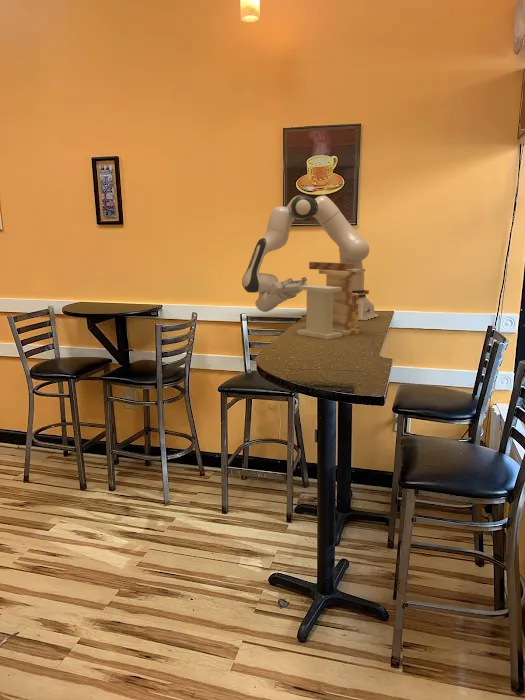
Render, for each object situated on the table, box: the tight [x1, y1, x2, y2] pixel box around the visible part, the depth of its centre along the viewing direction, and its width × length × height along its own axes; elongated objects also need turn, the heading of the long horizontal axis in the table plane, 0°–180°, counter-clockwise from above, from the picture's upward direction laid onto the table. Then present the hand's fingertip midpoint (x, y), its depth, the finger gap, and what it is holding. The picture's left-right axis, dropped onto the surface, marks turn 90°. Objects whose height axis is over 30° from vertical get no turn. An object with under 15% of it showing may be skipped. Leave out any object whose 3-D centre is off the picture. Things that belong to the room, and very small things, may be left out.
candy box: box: [351, 293, 359, 329], centre depth 236 cm, size 9×4×15 cm, turn 63°
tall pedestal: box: [318, 270, 362, 336], centre depth 225 cm, size 9×17×26 cm, turn 42°
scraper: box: [308, 261, 366, 272], centre depth 224 cm, size 27×6×3 cm, turn 42°
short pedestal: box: [296, 284, 343, 340], centre depth 218 cm, size 9×17×20 cm, turn 42°
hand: (298, 279), depth 241 cm, fingers open, 8 cm apart
